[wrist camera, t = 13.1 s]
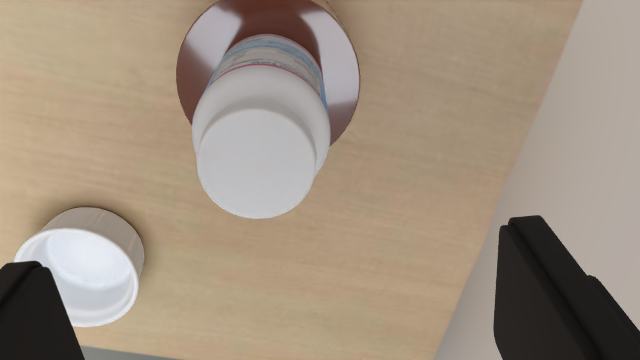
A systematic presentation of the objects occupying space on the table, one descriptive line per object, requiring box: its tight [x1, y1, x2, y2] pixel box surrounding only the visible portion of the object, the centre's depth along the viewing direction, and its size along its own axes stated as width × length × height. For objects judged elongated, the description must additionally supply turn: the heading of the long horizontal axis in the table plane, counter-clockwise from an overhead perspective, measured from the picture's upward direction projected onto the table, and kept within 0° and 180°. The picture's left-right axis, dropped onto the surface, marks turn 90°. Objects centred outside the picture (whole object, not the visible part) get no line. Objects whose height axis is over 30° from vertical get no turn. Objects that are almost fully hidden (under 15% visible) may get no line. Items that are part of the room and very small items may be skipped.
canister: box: [176, 0, 360, 147], centre depth 34 cm, size 10×10×7 cm
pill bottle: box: [192, 34, 330, 219], centre depth 26 cm, size 6×6×11 cm
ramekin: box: [13, 207, 145, 327], centre depth 41 cm, size 9×9×4 cm
